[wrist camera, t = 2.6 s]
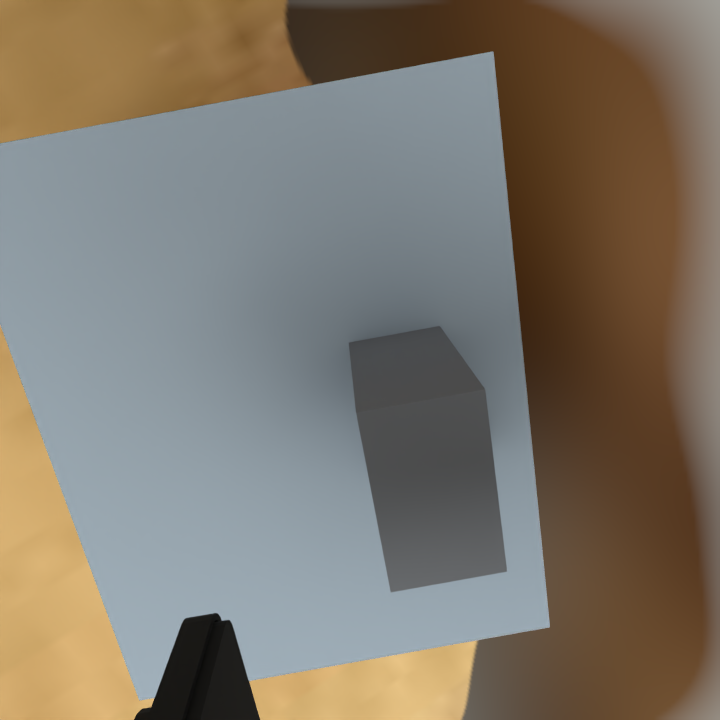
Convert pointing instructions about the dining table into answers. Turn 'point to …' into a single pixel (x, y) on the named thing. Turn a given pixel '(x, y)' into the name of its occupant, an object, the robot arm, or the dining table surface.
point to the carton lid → (284, 367)
